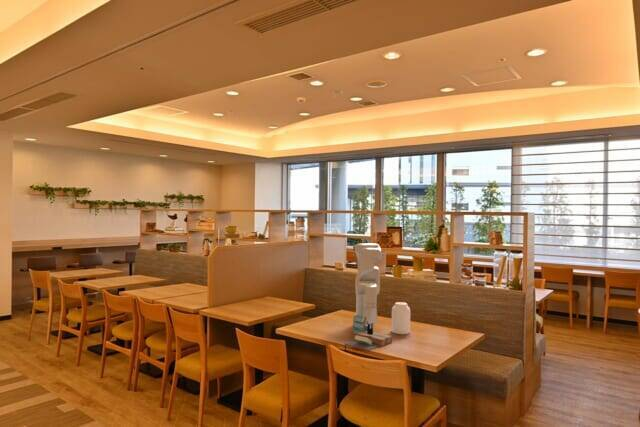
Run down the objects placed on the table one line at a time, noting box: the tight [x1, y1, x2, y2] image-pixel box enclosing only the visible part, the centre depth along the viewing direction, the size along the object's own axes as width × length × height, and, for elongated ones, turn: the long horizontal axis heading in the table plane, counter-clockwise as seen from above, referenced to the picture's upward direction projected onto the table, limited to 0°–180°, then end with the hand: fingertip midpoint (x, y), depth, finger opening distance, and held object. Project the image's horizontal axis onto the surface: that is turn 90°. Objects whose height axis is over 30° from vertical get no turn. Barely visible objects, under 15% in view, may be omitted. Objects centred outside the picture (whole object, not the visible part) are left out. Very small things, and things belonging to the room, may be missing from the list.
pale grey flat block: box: [354, 335, 372, 345], centre depth 267 cm, size 6×9×2 cm
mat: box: [344, 339, 381, 351], centre depth 266 cm, size 12×18×1 cm, turn 49°
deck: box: [354, 330, 393, 347], centre depth 275 cm, size 12×20×4 cm, turn 49°
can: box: [390, 301, 411, 335], centre depth 297 cm, size 12×12×20 cm
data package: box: [352, 314, 367, 334], centre depth 291 cm, size 12×4×12 cm, turn 60°
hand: (370, 334), depth 272 cm, fingers closed
